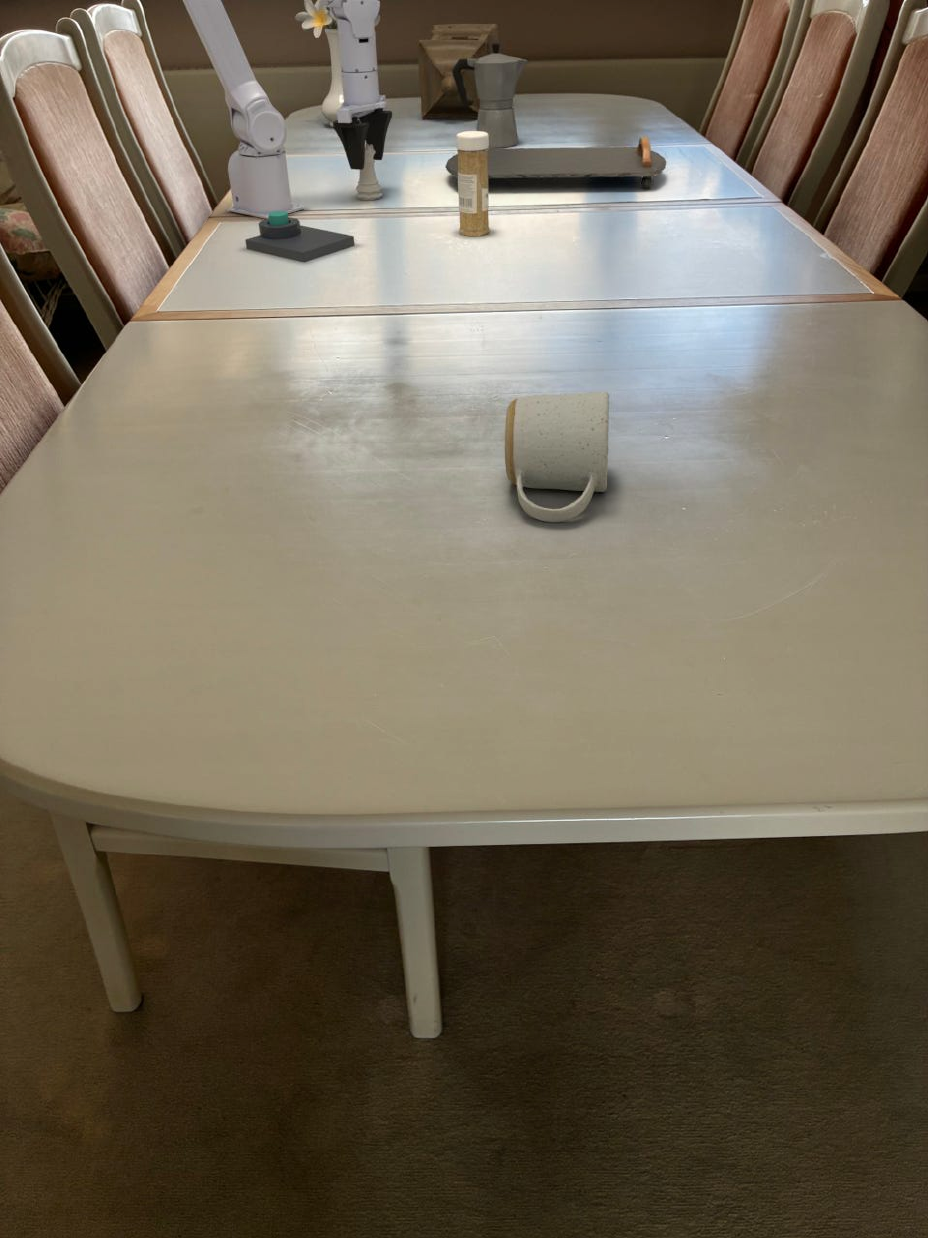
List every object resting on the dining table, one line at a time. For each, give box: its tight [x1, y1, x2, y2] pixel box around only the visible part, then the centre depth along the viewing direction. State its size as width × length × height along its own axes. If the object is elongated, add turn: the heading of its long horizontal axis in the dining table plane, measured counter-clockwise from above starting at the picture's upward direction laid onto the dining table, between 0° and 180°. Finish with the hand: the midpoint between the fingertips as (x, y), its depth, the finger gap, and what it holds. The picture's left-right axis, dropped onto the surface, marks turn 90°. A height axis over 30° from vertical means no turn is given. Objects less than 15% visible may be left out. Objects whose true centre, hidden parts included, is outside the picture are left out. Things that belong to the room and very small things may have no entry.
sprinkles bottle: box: [455, 130, 490, 237], centre depth 138 cm, size 5×5×14 cm
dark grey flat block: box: [245, 216, 356, 263], centre depth 137 cm, size 13×10×3 cm
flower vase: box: [294, 0, 381, 128], centre depth 213 cm, size 13×18×25 cm
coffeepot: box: [452, 42, 529, 149], centre depth 192 cm, size 15×9×18 cm, turn 103°
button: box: [268, 211, 289, 225], centre depth 138 cm, size 3×3×2 cm
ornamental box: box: [417, 23, 499, 119], centre depth 225 cm, size 35×18×18 cm, turn 173°
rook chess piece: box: [355, 143, 383, 201], centre depth 159 cm, size 4×4×8 cm
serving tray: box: [444, 136, 667, 190], centre depth 169 cm, size 39×23×6 cm, turn 86°
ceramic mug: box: [504, 391, 610, 523], centre depth 75 cm, size 11×8×8 cm
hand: (366, 164), depth 159 cm, fingers open, 7 cm apart
